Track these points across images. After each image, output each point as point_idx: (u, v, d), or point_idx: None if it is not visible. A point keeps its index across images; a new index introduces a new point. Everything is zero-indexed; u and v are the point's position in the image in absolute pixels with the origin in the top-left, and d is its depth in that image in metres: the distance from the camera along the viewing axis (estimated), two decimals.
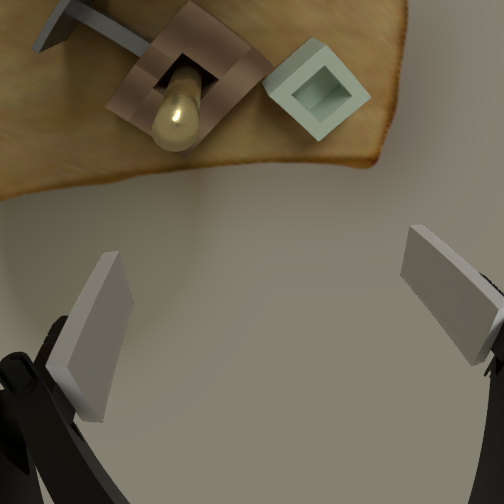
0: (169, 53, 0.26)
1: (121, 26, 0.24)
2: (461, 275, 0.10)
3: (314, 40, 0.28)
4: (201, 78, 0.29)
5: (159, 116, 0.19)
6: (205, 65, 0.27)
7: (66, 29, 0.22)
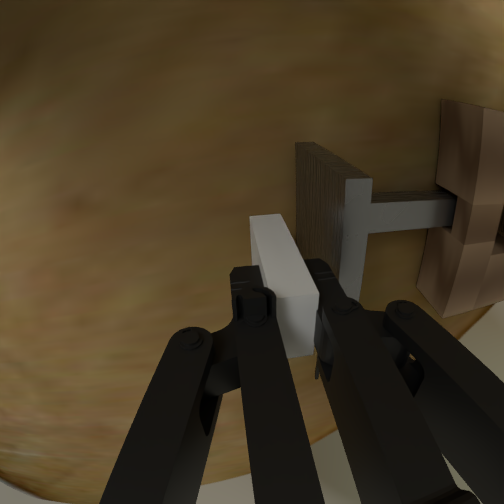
0: (495, 199, 0.15)
1: (405, 202, 0.17)
2: None
3: None
4: None
5: None
6: None
7: None
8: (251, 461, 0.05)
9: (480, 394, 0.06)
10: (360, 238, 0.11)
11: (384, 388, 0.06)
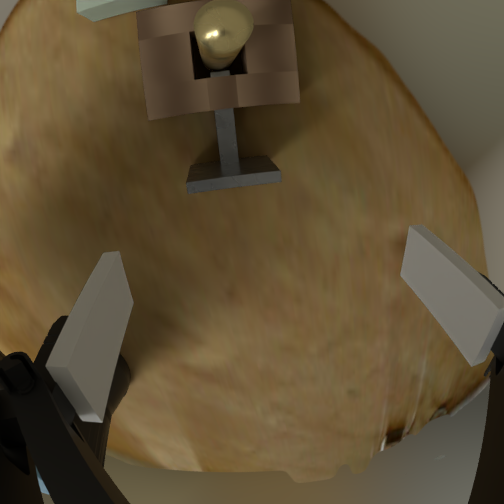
0: (204, 88, 0.26)
1: (215, 114, 0.29)
2: (461, 275, 0.10)
3: (90, 18, 0.22)
4: None
5: (221, 48, 0.15)
6: (187, 52, 0.24)
7: (252, 162, 0.31)
8: None
9: None
10: (213, 181, 0.27)
11: None
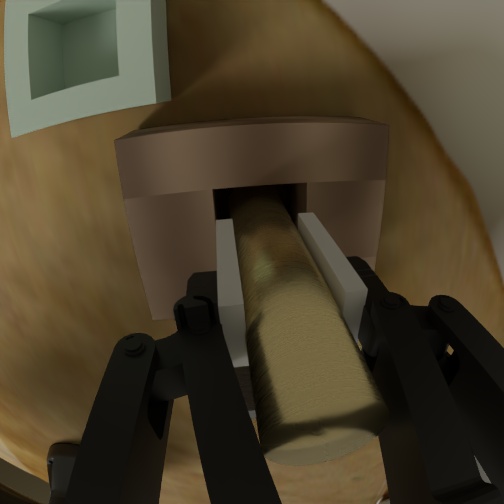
0: None
1: None
2: (324, 258, 0.12)
3: None
4: (236, 207, 0.17)
5: (310, 463, 0.07)
6: (210, 228, 0.17)
7: None
8: (205, 471, 0.05)
9: None
10: None
11: (424, 380, 0.06)
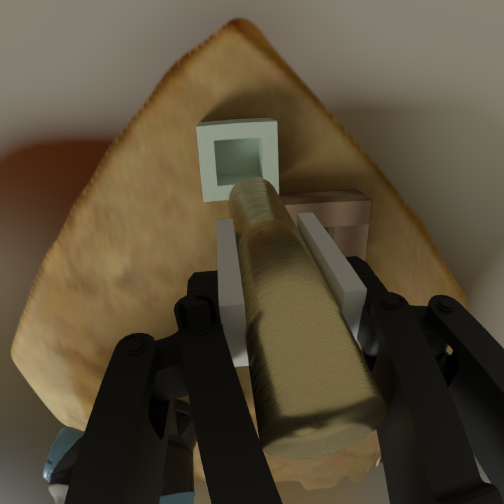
0: None
1: None
2: (323, 258, 0.12)
3: None
4: (236, 204, 0.17)
5: (308, 457, 0.08)
6: None
7: None
8: (205, 471, 0.05)
9: None
10: None
11: (423, 380, 0.06)
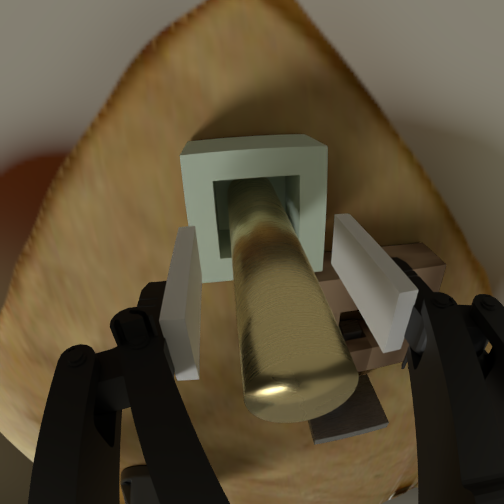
0: None
1: None
2: (370, 260, 0.11)
3: None
4: (233, 197, 0.19)
5: (290, 421, 0.09)
6: None
7: (359, 394, 0.32)
8: (155, 486, 0.05)
9: None
10: (337, 436, 0.27)
11: (465, 376, 0.06)
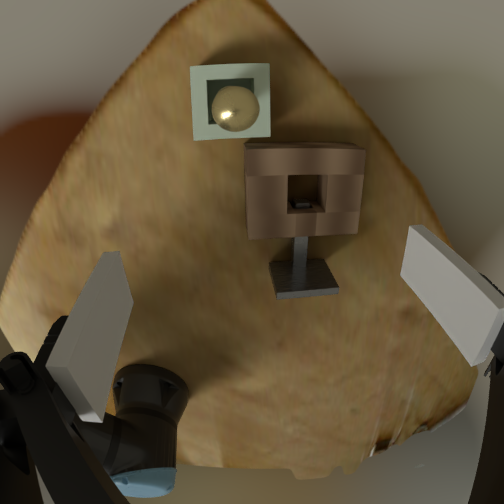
0: (293, 221, 0.39)
1: None
2: (461, 275, 0.10)
3: None
4: None
5: (232, 130, 0.21)
6: (284, 192, 0.37)
7: (316, 269, 0.44)
8: None
9: None
10: (295, 293, 0.40)
11: None
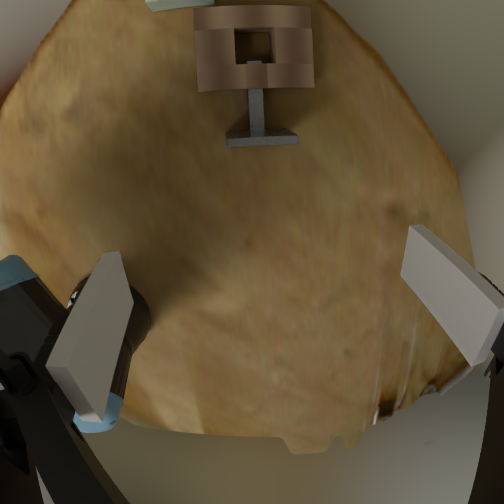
0: (243, 71, 0.34)
1: (249, 92, 0.37)
2: (461, 275, 0.10)
3: (152, 8, 0.30)
4: None
5: None
6: (231, 43, 0.32)
7: (275, 131, 0.39)
8: None
9: None
10: (248, 139, 0.34)
11: None
